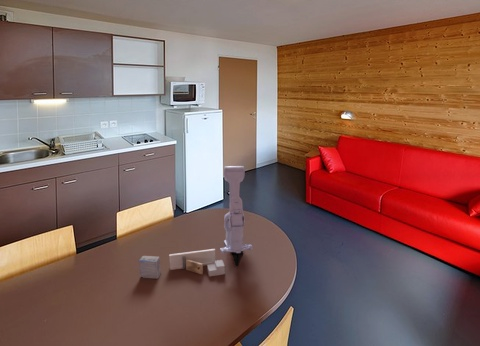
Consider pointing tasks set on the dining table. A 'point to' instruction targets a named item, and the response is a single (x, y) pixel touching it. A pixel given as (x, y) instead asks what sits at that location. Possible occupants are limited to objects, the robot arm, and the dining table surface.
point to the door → (194, 266)
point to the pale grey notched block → (216, 268)
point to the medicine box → (150, 267)
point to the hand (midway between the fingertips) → (236, 265)
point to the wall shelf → (191, 258)
